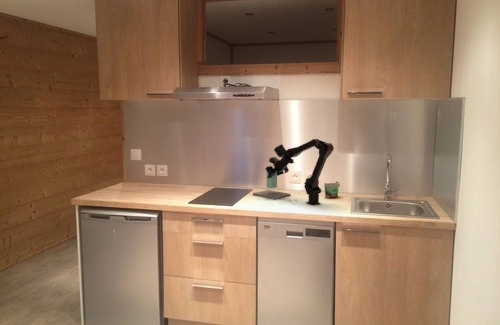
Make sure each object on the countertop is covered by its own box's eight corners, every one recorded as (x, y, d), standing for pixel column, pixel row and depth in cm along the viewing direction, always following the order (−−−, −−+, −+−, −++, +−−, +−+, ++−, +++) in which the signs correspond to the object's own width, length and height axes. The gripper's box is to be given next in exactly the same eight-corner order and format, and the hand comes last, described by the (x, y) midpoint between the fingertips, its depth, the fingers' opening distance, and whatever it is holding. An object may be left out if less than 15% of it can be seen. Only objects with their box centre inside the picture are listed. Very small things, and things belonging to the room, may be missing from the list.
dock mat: (290, 195, 256) (290, 193, 255) (275, 199, 244) (275, 197, 244) (267, 191, 269) (267, 189, 269) (252, 195, 257) (252, 192, 257)
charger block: (272, 188, 252) (272, 171, 251) (266, 187, 255) (266, 171, 254) (277, 187, 256) (277, 171, 254) (271, 186, 259) (271, 170, 258)
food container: (330, 199, 245) (331, 184, 244) (323, 198, 250) (324, 183, 249) (343, 197, 252) (343, 182, 251) (336, 195, 257) (336, 181, 256)
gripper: (285, 152, 257) (272, 166, 266) (267, 154, 243) (254, 169, 252) (294, 164, 253) (281, 179, 261) (277, 167, 239) (263, 182, 248)
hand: (270, 177), depth 256 cm, fingers closed on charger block, 5 cm apart
